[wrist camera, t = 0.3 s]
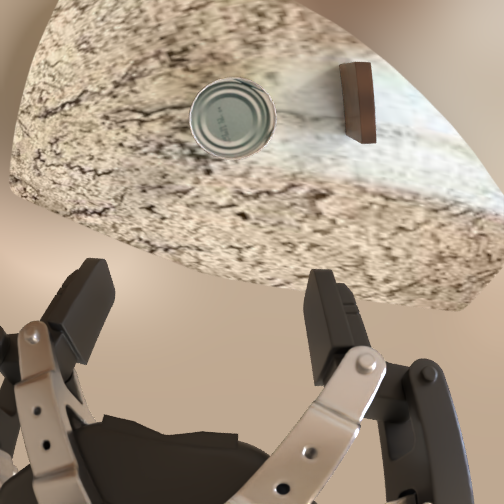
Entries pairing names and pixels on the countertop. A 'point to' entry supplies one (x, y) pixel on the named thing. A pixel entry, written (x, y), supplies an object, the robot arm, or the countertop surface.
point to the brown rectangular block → (359, 101)
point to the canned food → (232, 118)
